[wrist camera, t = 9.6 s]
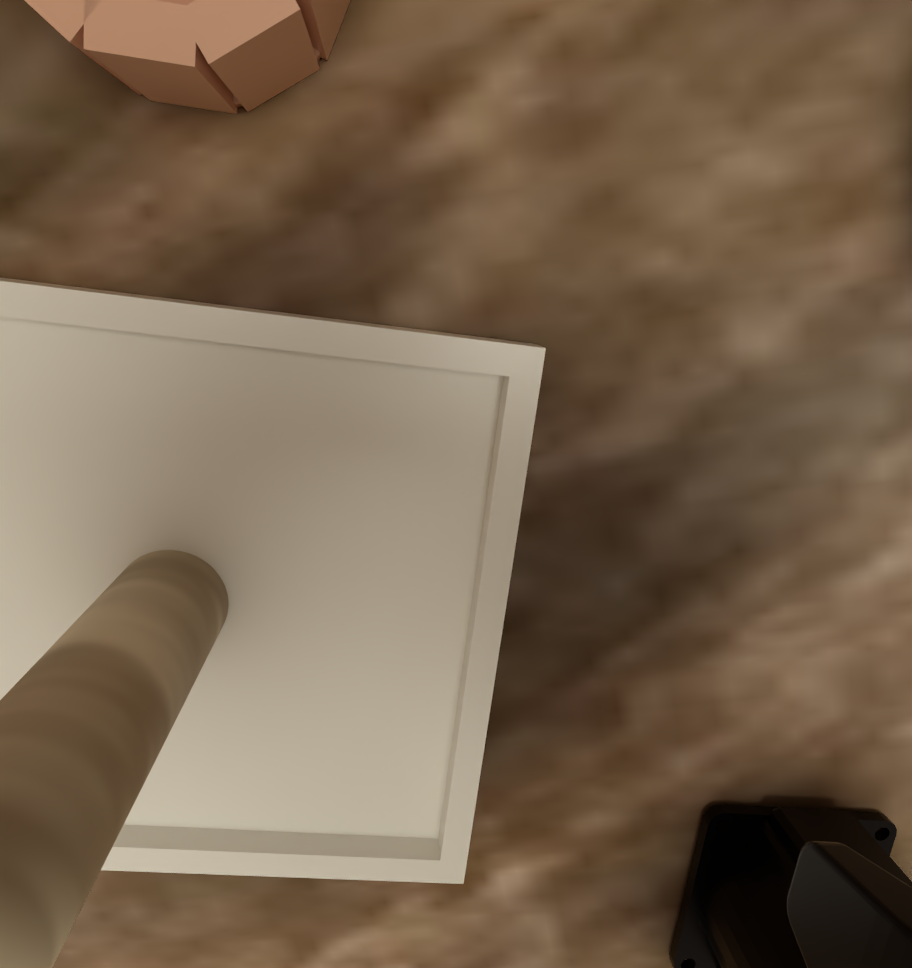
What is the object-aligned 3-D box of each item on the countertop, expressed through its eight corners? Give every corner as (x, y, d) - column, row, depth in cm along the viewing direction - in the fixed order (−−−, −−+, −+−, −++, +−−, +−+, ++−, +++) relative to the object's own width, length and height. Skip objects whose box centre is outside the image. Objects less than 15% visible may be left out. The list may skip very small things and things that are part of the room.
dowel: (225, 656, 21) (51, 1041, 10) (113, 648, 20) (-188, 1037, 10) (231, 554, 20) (49, 856, 9) (115, 544, 20) (-209, 844, 9)
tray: (459, 847, 24) (463, 884, 22) (-150, 820, 22) (-188, 859, 20) (534, 343, 20) (546, 347, 18) (-201, 252, 18) (-252, 249, 16)
